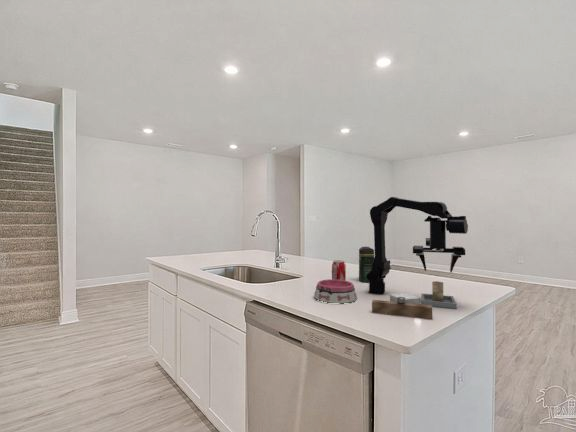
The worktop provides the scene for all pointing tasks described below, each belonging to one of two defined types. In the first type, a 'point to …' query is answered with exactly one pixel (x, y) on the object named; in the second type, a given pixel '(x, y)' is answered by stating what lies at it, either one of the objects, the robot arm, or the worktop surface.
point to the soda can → (338, 270)
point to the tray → (447, 302)
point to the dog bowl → (335, 291)
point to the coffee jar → (365, 262)
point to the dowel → (437, 291)
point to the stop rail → (402, 308)
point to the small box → (407, 297)
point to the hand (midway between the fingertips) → (438, 271)
